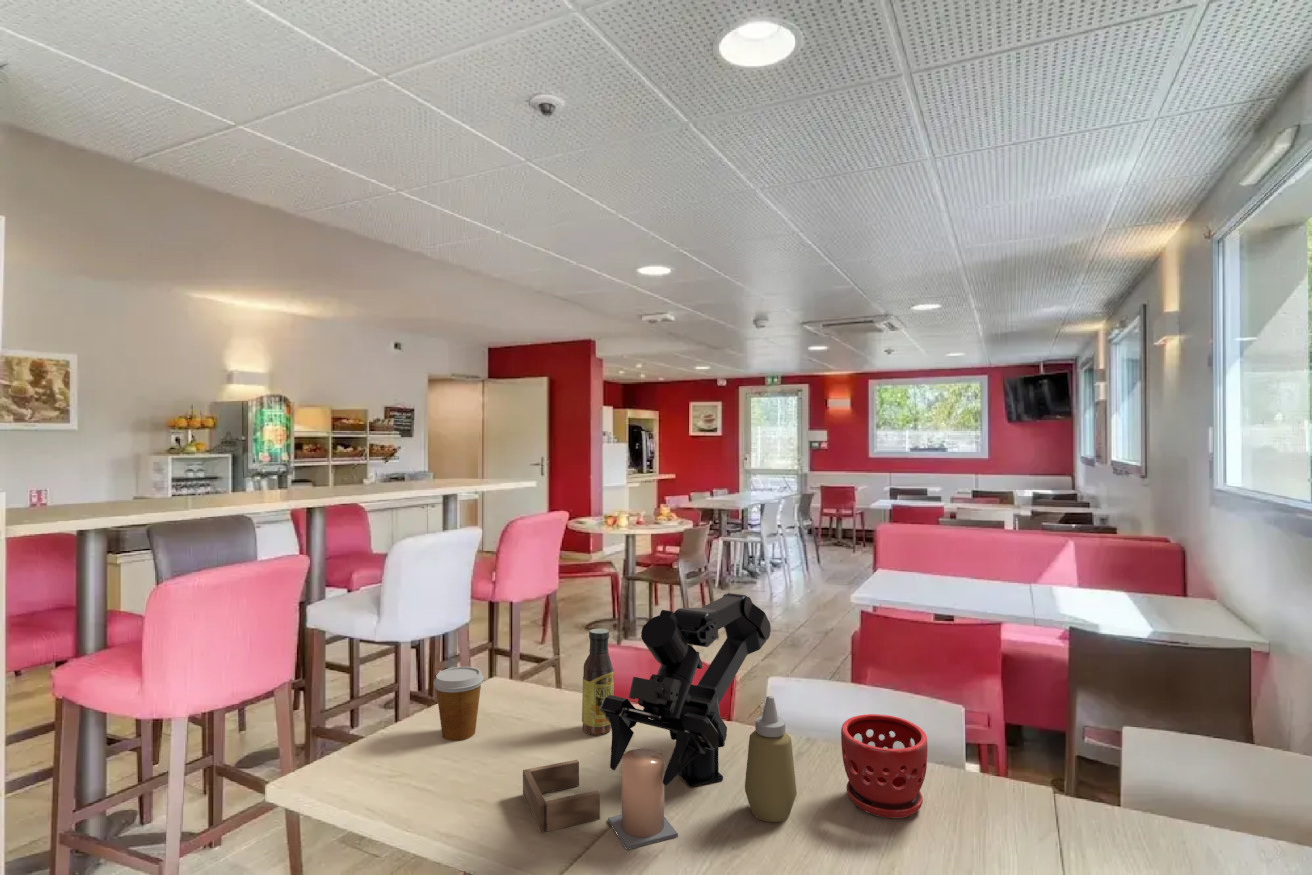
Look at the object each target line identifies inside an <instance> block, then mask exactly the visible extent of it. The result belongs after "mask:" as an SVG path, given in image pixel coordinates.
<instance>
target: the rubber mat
mask: <svg viewBox="0 0 1312 875" xmlns="http://www.w3.org/2000/svg"><path fill="white" fill-rule="evenodd" d="M607 821H608V823H609V824H610V826H611V827H612V826H613V828H614V829H613V828H612V829H613V830H615V831H616V832H617V834H618V835H617V834H616V835H617V837H618V836H619V837H618V839H619V840H620V839H621V840H620V841H622V842H623V843H622V842H621V843H622V845H623V844H624V845H623V846H624V848H625V847H626V848H627V849H628V850H630V849H629V848H631V849H635V848H639V847H643V846H646V845H650V844H654V843H658V842H662V841H666V840H670V839H674V838H678V836H679V835H678V832H677V830H675V828H674V826H672V824H671V823H670V822H669V820H668V819H667V818H666V817H665V816H664V828H663V830H662V831H661V832H660V833H658V834H656V835H653V836H649V837H636V836H632V835H629V834H627V833H626V832H625V831H624V830H623V829H622V814H617V815H614V816H609V817H608V819H607ZM615 831H614V832H615ZM616 832H615V833H616ZM626 848H625V849H626ZM627 849H626V850H627Z"/></svg>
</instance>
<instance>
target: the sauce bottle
mask: <svg viewBox="0 0 1312 875" xmlns="http://www.w3.org/2000/svg"><path fill="white" fill-rule="evenodd" d="M588 632H589V633H588V638H589V650H588V651H589V654H588V656H587V658H586V659H585V661H584V664H583V676H582V696H581V698H582V700H581V703H582V705H581V709H582V710H581V722H582V731H583V732H584V733H586V734H588V735H591V736H592V735H593V736H594V735H598V736H599V735H605V734H607V733H609V732H610V731H612V728H611V724H610V722H609V721H608V720H607V719H606V717H605V715H604V713H603V712H602V711H601V710H600V707H601V705H602V703H603V700H604V699H605V698H606V697H607V696H609V695H613V696H615V695H614V692H615V691H614V689H615V687H614V686H615V681H614V680H615V679H614V677H615V675H614V674H615V671H614V668H613V665H612V660H611V658H610V653H609V638H610V631H609V629H607V628H593V629H590V630H589V631H588Z"/></svg>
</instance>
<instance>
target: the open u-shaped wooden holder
mask: <svg viewBox="0 0 1312 875" xmlns="http://www.w3.org/2000/svg"><path fill="white" fill-rule="evenodd" d="M579 786H580V761H579V760H578V759H573V760H568V761H563V762H558V763H552V764H547V765H542V766H538V767H537V766H535V767H532V768H527V769H522V795H523V798H524V800H525V802H526V804H527V806H528V807H527V808H528V809H529V811H530V813H532V814H531V815H532V818H533V820H534V822H535V824H536V827H537V829H538V831H539V833H540V834H542V833H545V832H550V830H551V831H554V830H559V829H562V828H567V827H572V826H576V825H580V824H583V823H589V822H593V821H598V820H601V806H600V805H601V799H600V798H601V796H600V795H601V792H600V791H599V789H596V790H592V791H586V792H582V793H578V794H572V795H567V796H563V797H558V798H554V799H550V800H545V798H544V795H543V794H545V793H547V794H548V793H552V792H557V791H560V790H561V791H562V790H567V789H570V788H575V787H579Z"/></svg>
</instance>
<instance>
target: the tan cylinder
mask: <svg viewBox="0 0 1312 875" xmlns="http://www.w3.org/2000/svg"><path fill="white" fill-rule="evenodd" d="M664 775H665V756H664V754H663V753H662V752H661V751H659V750H656V749H653V748H636V749H635V748H634V749H631V750H628V751H625V752H624V755H623V756H622V759H621V815H622V829H623V830H624V831H625V832H626V833H627V834H629V835H632V836H636V837H649V836H653V835H656V834H658V833H660V832H661V831H662V830H663V828H664V817H665V785H664V784H663V778H664Z"/></svg>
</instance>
